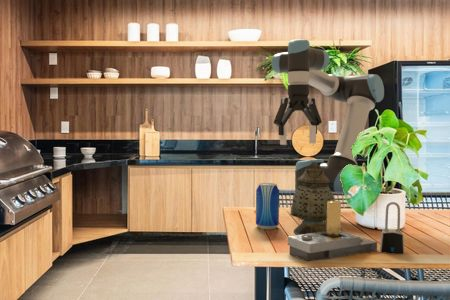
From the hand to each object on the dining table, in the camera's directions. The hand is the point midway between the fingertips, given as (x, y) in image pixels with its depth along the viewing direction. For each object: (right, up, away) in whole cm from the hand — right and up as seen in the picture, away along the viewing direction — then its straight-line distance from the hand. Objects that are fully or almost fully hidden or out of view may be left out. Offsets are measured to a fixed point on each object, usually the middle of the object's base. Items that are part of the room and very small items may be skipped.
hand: (298, 144), depth 164 cm
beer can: (-11, -31, +4) cm, 33 cm away
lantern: (+4, -31, -4) cm, 32 cm away
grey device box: (+6, -32, -28) cm, 43 cm away
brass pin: (+6, -32, -28) cm, 43 cm away
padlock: (+24, -33, -27) cm, 49 cm away
